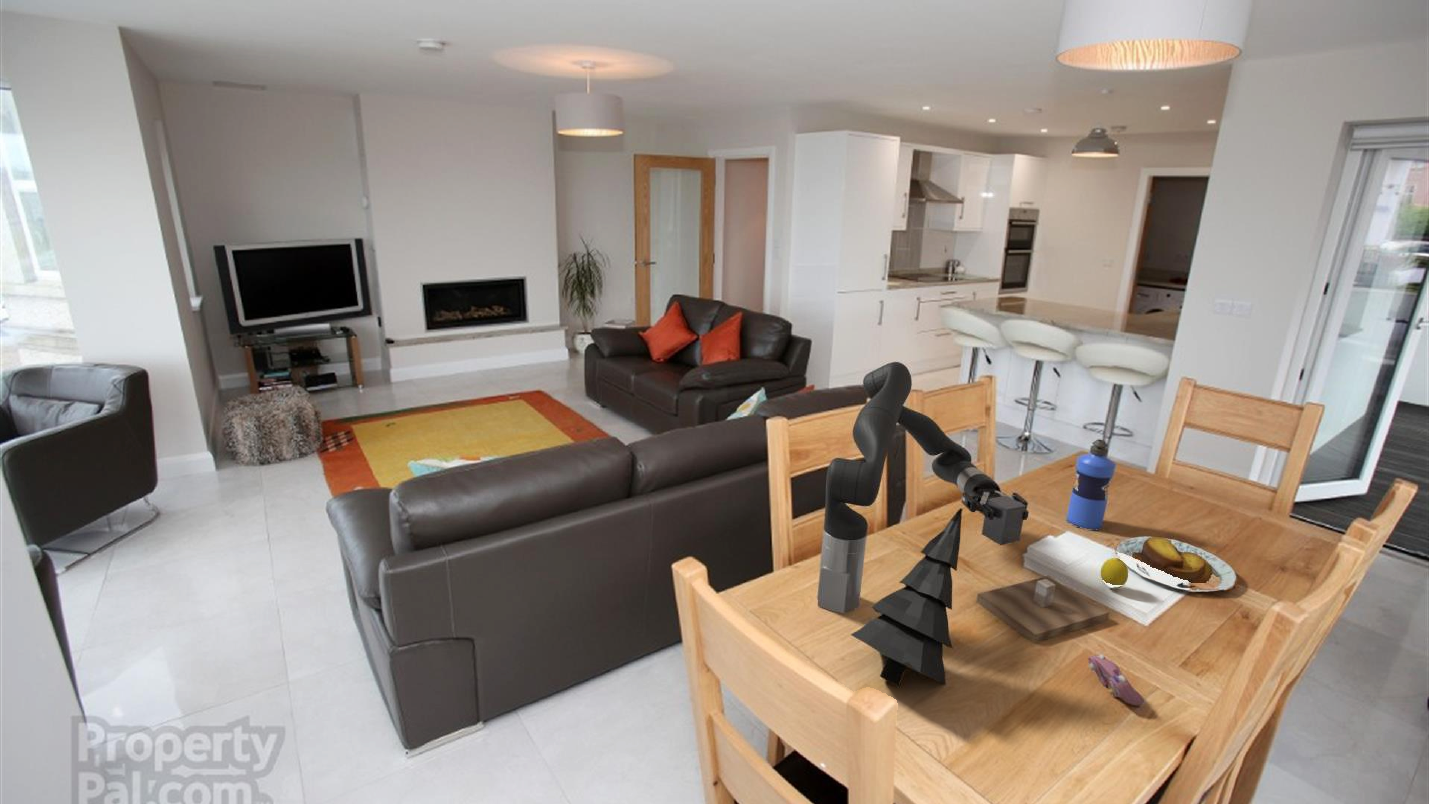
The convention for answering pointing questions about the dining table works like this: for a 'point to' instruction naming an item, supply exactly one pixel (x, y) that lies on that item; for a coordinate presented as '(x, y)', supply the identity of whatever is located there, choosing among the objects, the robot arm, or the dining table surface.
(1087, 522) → the water bottle
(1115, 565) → the lemon
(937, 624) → the decorative tree
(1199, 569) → the food on plate
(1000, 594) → the flat brown board
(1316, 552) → the dining table surface
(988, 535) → the dark grey box
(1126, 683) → the video game controller
